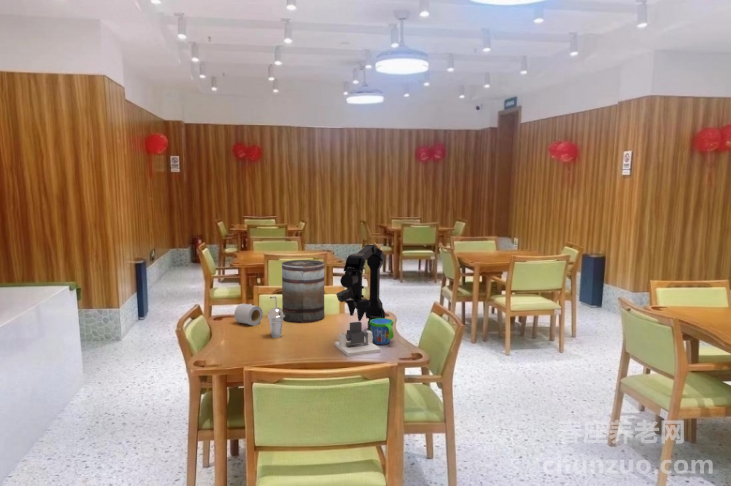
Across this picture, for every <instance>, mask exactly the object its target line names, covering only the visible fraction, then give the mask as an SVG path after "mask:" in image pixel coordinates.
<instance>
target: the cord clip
mask: <svg viewBox="0 0 731 486" xmlns="http://www.w3.org/2000/svg"><path fill="white" fill-rule="evenodd" d="M362 324H363V323H362V321H352V322H349V329H348V330H346V334H349V335H351V338H348V339H346V340H347V341H351V344H357V343H364V338H365V337H364V334H365V333H364V332H365V331H363V330H362V327H363V326H362Z"/></svg>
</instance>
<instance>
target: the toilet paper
mask: <svg viewBox="0 0 731 486" xmlns="http://www.w3.org/2000/svg"><path fill="white" fill-rule="evenodd" d="M233 316H234V317H233V318H234V320H235V321H236V323H239V324H245V325H248V326H253V327H254V326H258V325H259V324H260V323H261V321H262V319H263V310H262V307H260V306H259V305H254V304H253V305H252V304H248V303H240V304H238V305H237V306H236V308H235V310H234V314H233Z"/></svg>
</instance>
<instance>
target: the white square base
mask: <svg viewBox="0 0 731 486" xmlns="http://www.w3.org/2000/svg"><path fill="white" fill-rule="evenodd" d="M363 332H364V333H365V334H364V343H357V344H351V341H347V339H348V338H351V335H349V334H347V333H339V334H338V341H335V342H334V346H335V347H336V348H337V349H339V350H340V351H341V352H342V353H343V354H344V355H346V356H347V357H355V356H361V355H362V356H363V355H371V354H377V353H381V352H382V350H381V347H379V346H378V345H377V344H375V343H374V342H373V336H372V332H371V331H369V330H365V331H363ZM359 345H361V346H359ZM349 346H353V347H349Z"/></svg>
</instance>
